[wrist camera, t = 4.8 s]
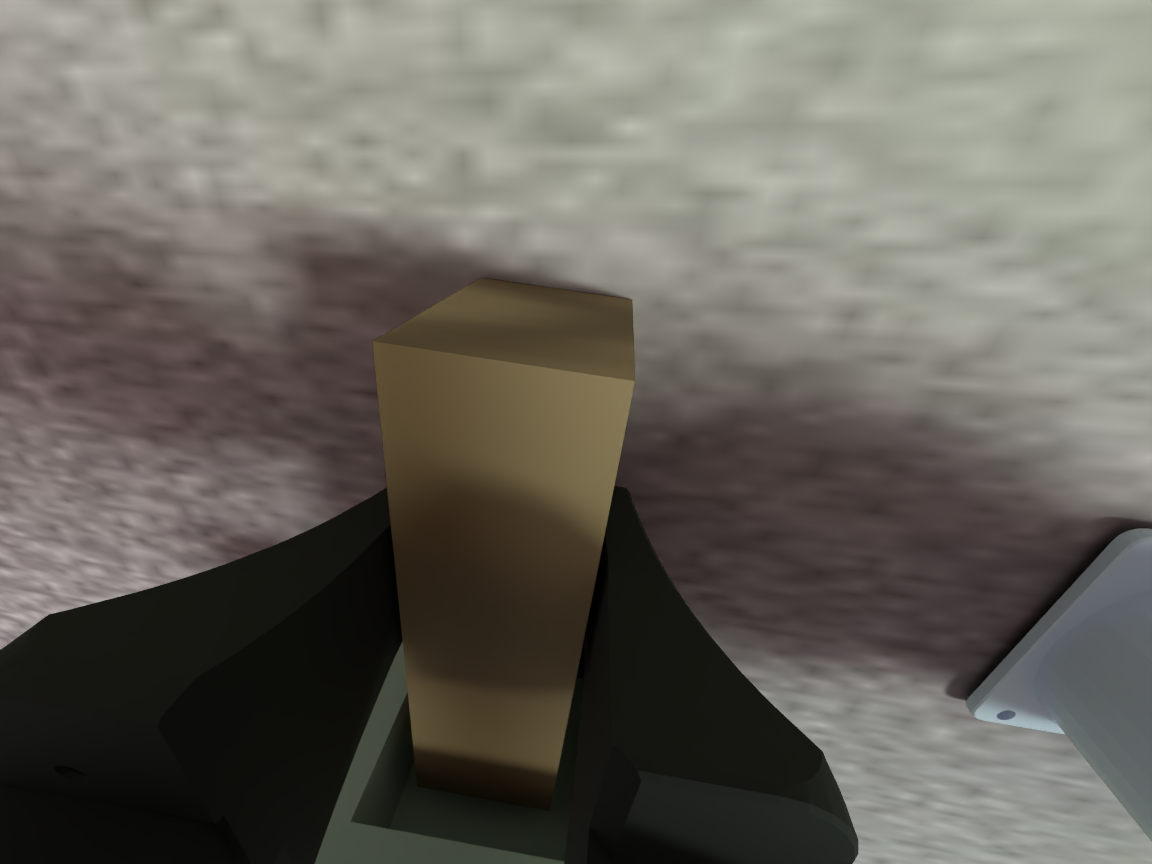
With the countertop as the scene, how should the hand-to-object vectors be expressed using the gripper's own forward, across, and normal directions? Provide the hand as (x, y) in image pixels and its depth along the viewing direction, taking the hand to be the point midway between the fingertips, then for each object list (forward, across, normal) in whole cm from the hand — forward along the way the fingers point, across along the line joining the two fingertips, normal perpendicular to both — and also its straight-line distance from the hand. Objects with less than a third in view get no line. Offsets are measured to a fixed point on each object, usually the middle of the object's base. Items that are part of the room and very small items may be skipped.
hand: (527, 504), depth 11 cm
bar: (+2, 0, +1) cm, 2 cm away
